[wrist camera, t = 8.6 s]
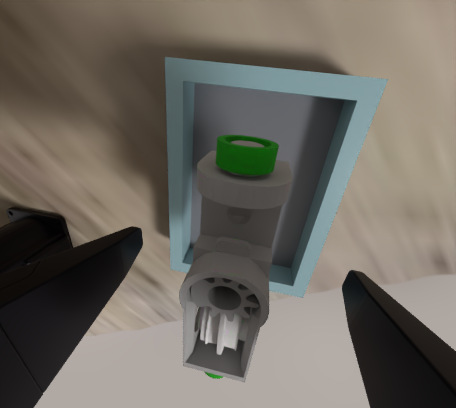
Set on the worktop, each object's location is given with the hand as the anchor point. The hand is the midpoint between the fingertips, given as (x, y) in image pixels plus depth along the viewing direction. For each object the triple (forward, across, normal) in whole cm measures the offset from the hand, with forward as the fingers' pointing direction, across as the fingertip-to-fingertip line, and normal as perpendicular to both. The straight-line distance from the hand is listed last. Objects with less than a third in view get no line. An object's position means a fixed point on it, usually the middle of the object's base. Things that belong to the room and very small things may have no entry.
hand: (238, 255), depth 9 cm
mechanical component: (+8, 0, 0) cm, 8 cm away
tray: (+9, 0, 0) cm, 9 cm away
